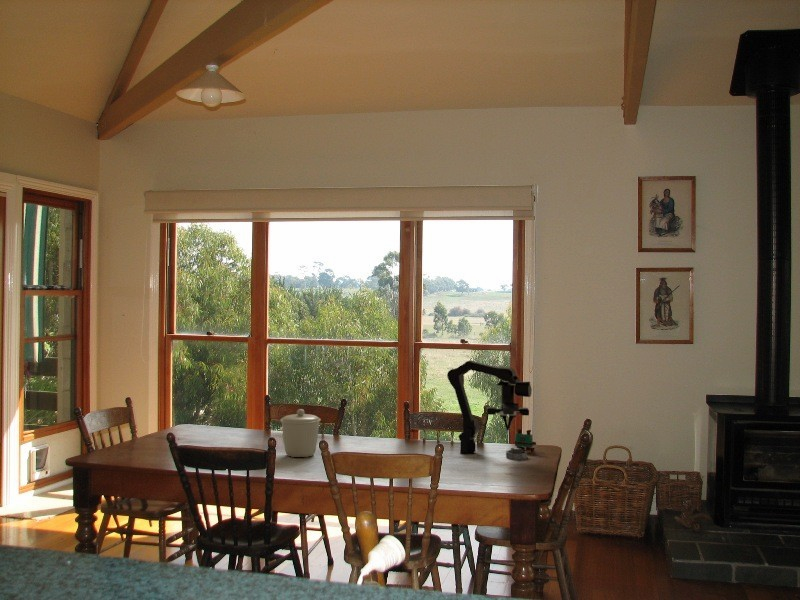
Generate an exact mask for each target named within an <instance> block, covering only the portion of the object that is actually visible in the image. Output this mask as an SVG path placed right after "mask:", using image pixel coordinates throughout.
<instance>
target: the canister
mask: <svg viewBox="0 0 800 600" xmlns="http://www.w3.org/2000/svg"><path fill="white" fill-rule="evenodd" d="M321 420H322V419H321V418H320V417H318V416H317V415H315V414H308V413H305V410H304V408H303V409H302V408H298V409H297V411H296V413H294V414H288V415H285V416H283V417H282V418H280V420H279V421H280V422H281V428H282V437H283V445H284V452H285V454H286V455H287V456H288V457H290V456H291V457H290V458H294V457H305V458H310V457H311V456H314V455H315V454H316V450H317V444H318V435H319V427H320V422H321ZM309 456H310V457H309Z"/></svg>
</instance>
